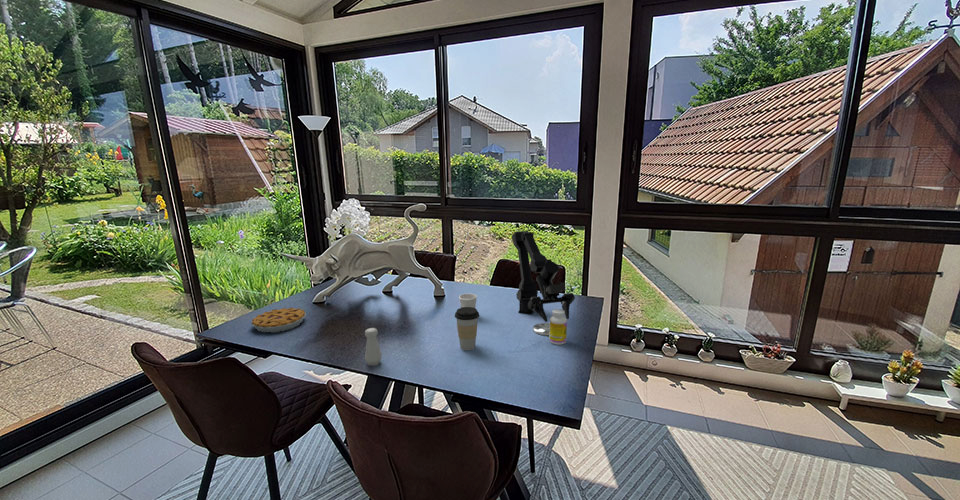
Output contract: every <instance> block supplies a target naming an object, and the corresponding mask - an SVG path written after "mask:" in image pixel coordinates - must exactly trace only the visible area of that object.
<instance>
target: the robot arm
mask: <svg viewBox="0 0 960 500" xmlns="http://www.w3.org/2000/svg"><path fill="white" fill-rule="evenodd" d="M511 241H512V244H513V246H514V247H515V249H516V250H517V255H518V263H519V270H520V279H521V280H520V283H519V284H518V290H517V292H516V294H515V295H516V300H518V302H519V310H518V313H519V314H524V315H525V314H528V315H532V314H533V313H534V312H536V314H538V316H540V317H541V318H542V319H543V321H544V323H548V318H547V315H546V311H545V308H544V305H545V304H546V305H547V304H554V303H560V304H561V310H564V311H565V315H564V317H566V319H567V320H569V319H570V305H571V304H572V303H573V302H574V301H575V300H576V296H575V294H574V293H573V292H567V293H563V292H564V291H566V289H567V288H566V284H565V282H559V283H558V284H555V283H553V279H554V278H555V276H556V275H557V273H558V272H559V269H560V268H559V265H558V264H557V263H556V262H554V261H552V259H551V258H549V259H547V257H546V256H545V255H543V254H542V253H541V251H540V249H539V246H538V244H537V242H536V240H535V238H534V233H533V232H531V231H528V230H524V231H523V230H522V231H521V230H520V231H514V232H513V233H512V234H511ZM531 272H532V273H533V274H537V276H536V278H535V279H536V280H535V281H534V280H533V277H532V273H531ZM537 283H538V286H537ZM538 287H539V289H540V290H538ZM538 293H539V294H541V296H542V297H541V296H538V295H539V294H538ZM560 293H561V294H562V293H563V294H562V296H560Z"/></svg>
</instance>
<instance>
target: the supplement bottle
mask: <svg viewBox="0 0 960 500" xmlns="http://www.w3.org/2000/svg"><path fill="white" fill-rule="evenodd" d="M551 314H552V316H550V318H549V323H550V332H549V336H548V337H549V339H548V340H549V342H550V343H551V344H553V345H555V346H561V345H564V344H566V342H567V336H568V335H567V331H568V330H567V329H568V319H567V318H566V316H565V311H564V310H563V309H562V308H561V309H560V308H555V309H553V310H552V311H551Z"/></svg>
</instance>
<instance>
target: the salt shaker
mask: <svg viewBox="0 0 960 500" xmlns="http://www.w3.org/2000/svg"><path fill="white" fill-rule="evenodd" d="M378 334H379V331H378V330H377V328H376V327H370V328H367V329H366V330H365V331H364V337H365V338H366V345H365V355H364V360H365V362H366V364H367V365H368V366H370V367H374V366H378V365H379V364H380V363H381V360H382V352H381V349H380V345H379V342H378V338H377V336H378Z"/></svg>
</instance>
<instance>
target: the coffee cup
mask: <svg viewBox="0 0 960 500" xmlns="http://www.w3.org/2000/svg"><path fill="white" fill-rule="evenodd" d="M454 318H456V328H457V335H458V340H459V347H460V349H461V350H463V351H472V350H474V349H476V343H477V342H476V339H477V331H478V324H479V323H478V319H479V318H480V313H479V311H478V309H477V308H476V307H475V308H473V307H462V308H461V307H459V308H457V309H456V312H455V314H454Z"/></svg>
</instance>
